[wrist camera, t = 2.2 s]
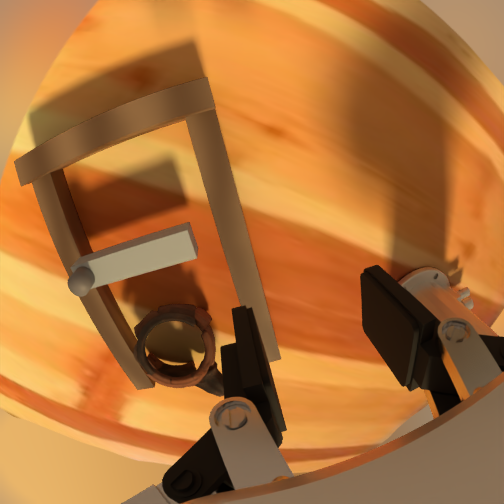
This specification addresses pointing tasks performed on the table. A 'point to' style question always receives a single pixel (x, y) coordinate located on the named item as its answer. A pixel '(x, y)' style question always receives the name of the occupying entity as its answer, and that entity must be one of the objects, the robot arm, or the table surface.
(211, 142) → the frame
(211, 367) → the pottery mug
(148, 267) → the gray rectangular bar
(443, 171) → the table surface
